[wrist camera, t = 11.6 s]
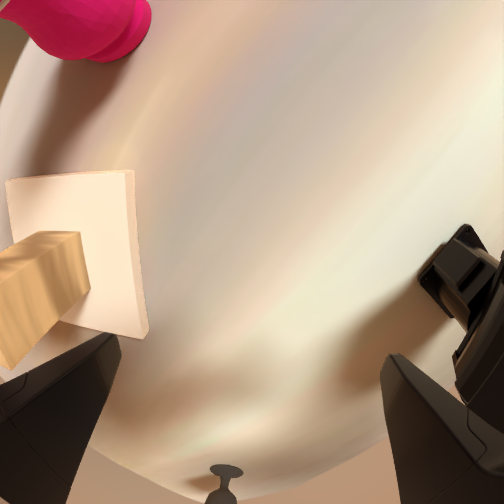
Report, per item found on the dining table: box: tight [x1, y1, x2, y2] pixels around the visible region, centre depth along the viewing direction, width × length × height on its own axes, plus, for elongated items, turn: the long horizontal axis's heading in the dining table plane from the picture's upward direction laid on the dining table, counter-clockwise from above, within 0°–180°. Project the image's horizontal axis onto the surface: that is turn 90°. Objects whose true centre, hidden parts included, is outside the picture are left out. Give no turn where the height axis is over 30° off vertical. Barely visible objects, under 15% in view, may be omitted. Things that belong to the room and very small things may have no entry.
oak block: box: [0, 231, 91, 371], centre depth 16 cm, size 5×5×11 cm
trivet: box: [5, 170, 149, 340], centre depth 22 cm, size 14×14×2 cm
